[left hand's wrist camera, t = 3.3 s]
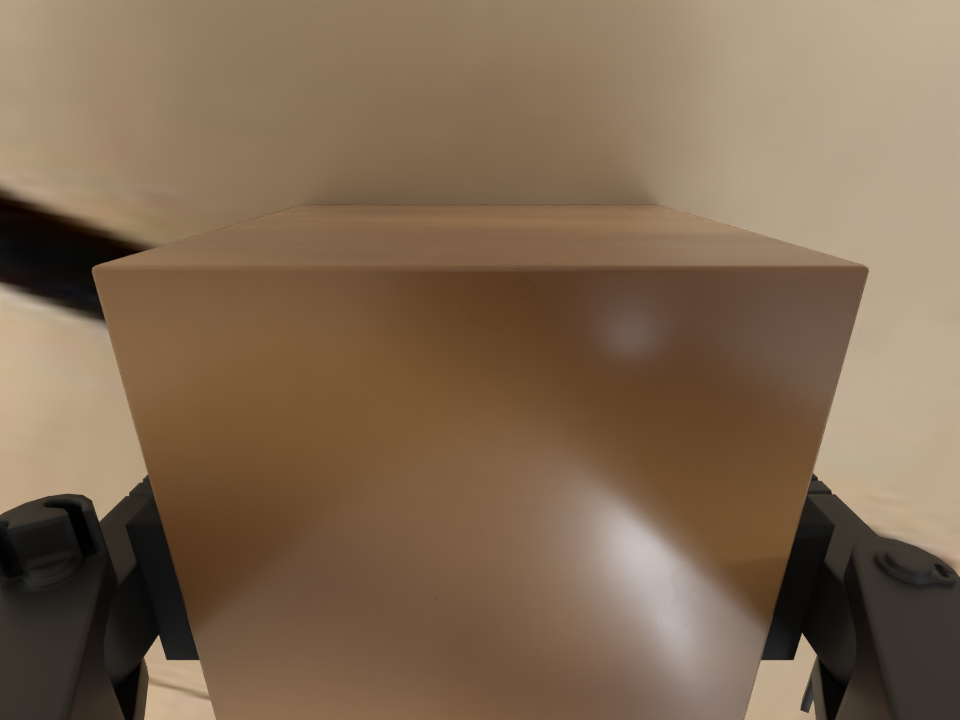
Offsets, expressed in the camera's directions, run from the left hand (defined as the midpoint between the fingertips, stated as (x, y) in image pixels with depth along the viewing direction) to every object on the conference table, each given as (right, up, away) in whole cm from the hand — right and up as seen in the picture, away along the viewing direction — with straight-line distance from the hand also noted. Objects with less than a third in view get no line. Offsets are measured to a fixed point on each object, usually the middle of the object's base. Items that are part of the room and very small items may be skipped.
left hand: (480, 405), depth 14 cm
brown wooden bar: (0, -21, +9) cm, 23 cm away
